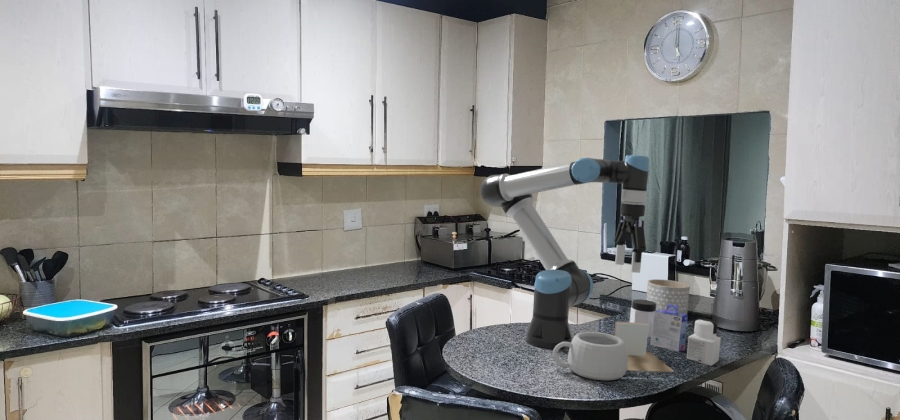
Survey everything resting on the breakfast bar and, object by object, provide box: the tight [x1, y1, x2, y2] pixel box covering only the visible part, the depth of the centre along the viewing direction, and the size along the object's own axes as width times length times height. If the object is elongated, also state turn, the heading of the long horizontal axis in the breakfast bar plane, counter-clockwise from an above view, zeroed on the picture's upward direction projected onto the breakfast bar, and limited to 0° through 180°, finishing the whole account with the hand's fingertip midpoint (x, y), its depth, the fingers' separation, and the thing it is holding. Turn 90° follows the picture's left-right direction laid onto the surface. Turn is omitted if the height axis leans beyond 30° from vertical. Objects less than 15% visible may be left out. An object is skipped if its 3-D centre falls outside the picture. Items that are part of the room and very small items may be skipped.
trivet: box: [626, 351, 675, 373], centre depth 185 cm, size 16×18×1 cm
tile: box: [614, 321, 648, 356], centre depth 191 cm, size 10×2×10 cm, turn 94°
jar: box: [629, 299, 656, 339], centre depth 217 cm, size 9×8×12 cm
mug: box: [552, 331, 628, 381], centre depth 173 cm, size 21×17×10 cm
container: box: [686, 318, 722, 367], centre depth 191 cm, size 8×8×13 cm
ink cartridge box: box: [650, 304, 689, 352], centre depth 202 cm, size 10×6×14 cm, turn 49°
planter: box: [645, 279, 691, 315], centre depth 252 cm, size 16×16×13 cm
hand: (627, 268), depth 197 cm, fingers open, 13 cm apart
